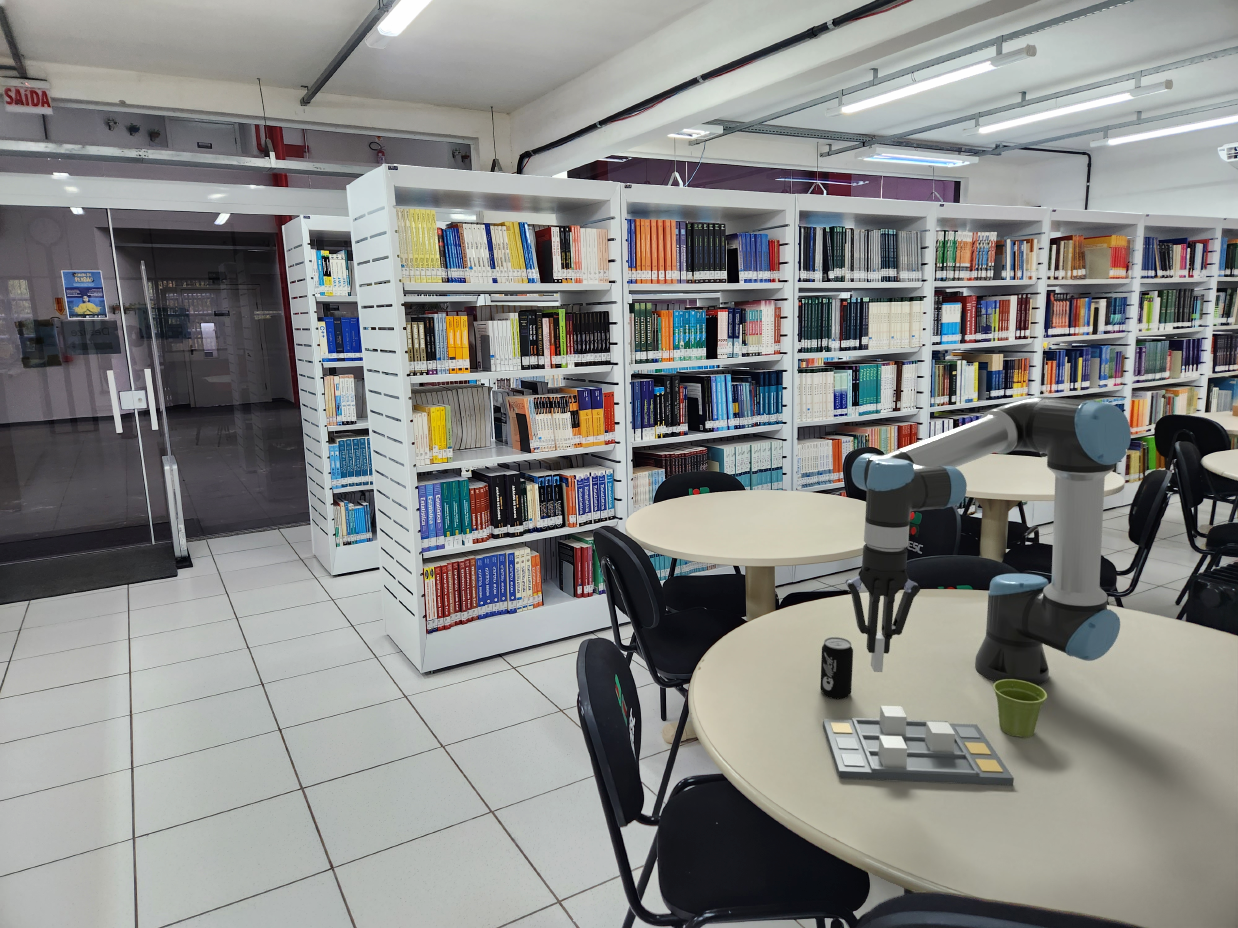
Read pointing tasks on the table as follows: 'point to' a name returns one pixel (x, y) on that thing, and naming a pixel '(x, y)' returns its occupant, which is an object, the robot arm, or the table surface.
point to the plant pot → (1018, 706)
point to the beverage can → (836, 668)
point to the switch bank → (914, 754)
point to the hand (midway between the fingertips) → (876, 668)
